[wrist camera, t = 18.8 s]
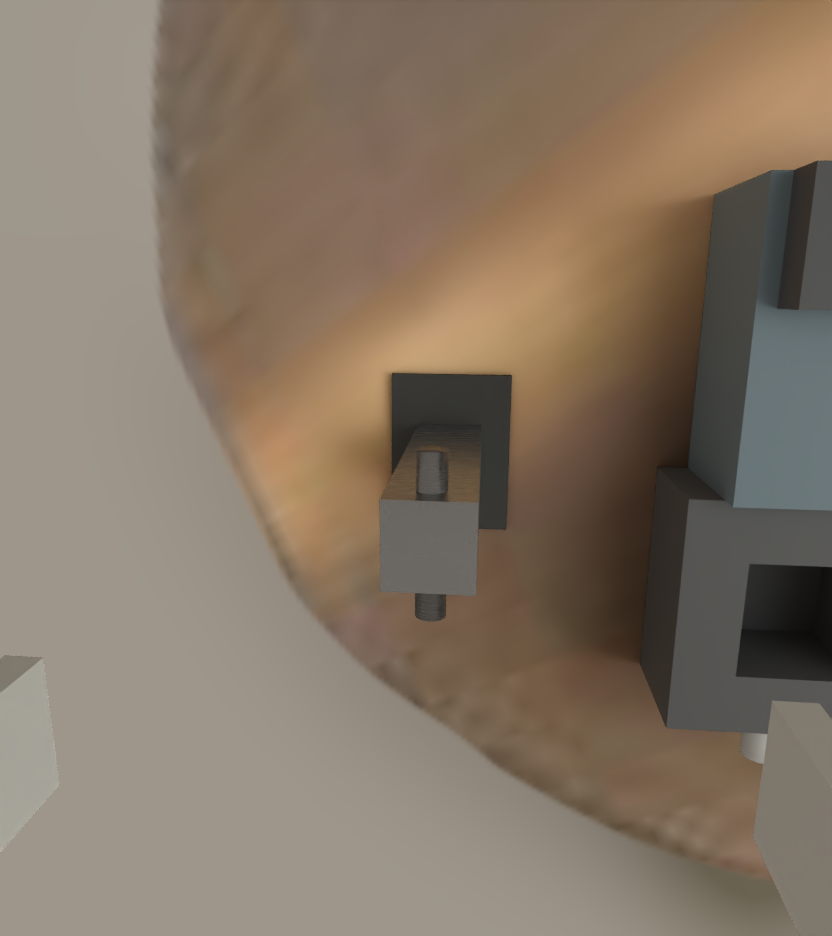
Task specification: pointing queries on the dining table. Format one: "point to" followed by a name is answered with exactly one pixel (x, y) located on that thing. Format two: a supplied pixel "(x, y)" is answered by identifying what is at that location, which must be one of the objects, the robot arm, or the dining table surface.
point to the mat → (460, 405)
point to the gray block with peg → (433, 518)
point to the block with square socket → (751, 475)
